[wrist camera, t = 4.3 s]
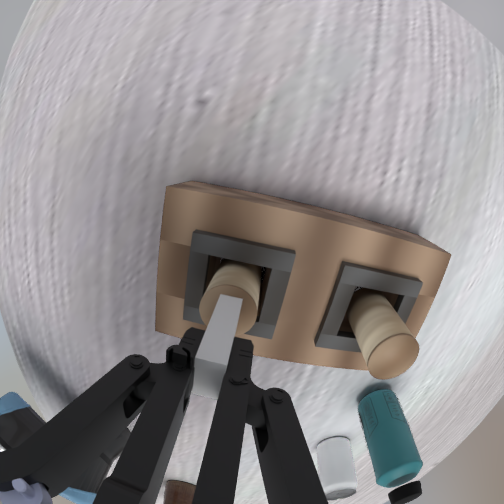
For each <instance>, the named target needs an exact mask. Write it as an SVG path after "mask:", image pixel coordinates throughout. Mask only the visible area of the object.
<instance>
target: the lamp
mask: <svg viewBox="0 0 504 504" xmlns="http://www.w3.org/2000/svg"><path fill="white" fill-rule="evenodd" d="M195 488H196V486H195V485H192V484H189V483H186V482H182V481H175V480H170V481H167V483H166V486H165V492H164V502H163V504H192V500H193V496H194V492H195Z"/></svg>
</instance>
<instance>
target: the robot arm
mask: <svg viewBox="0 0 504 504" xmlns="http://www.w3.org/2000/svg"><path fill="white" fill-rule="evenodd" d="M242 301H243V299H241V298H236V297H232V296H227V295H223V294H220V297H219V299H218V302H217V304H216V307H215V309H214V311H213V314H212V316H211V319H210V321H209V324H208V326H207V329H206V330H202V329H198V328H194V327H191V328H189V329H188V330H186V331H185V333H184V335H183V337H182V339H181V342H180V343H179V345H173V346H171V347H169V348H168V349H167V350H166V362H165V363H159V364H157V363H149V361H148V359H147V358H146V357H144V356H142V355H137V354H134V355H129V356H128V357H126V358H125V359H124V360H122V361H121V362H120V363H119V364H117V365H116V366H115V367H114V368H113V369H111V370H110V371H109V372H108V373H107V374H105V375H104V376H103V377H102V378H101V379H99V380H98V381H97V382H96V383H94V384H93V385H92V386H91V387H90V388H88V389H87V390H86V391H85V392H84V393H82V394H81V395H80V396H79V397H78V398H76V399H75V400H74V401H73V402H71V403H70V404H69V405H68V406H67V407H65V408H64V409H63V410H62V411H61V412H59V413H58V414H57V415H56V416H55V417H53V418H52V419H51V420H50V421H48V422H47V423H46V422H45V421H44V420H43V419H42V418H41V417H40V416H39V415H38V414H37V413H36V412H35V411H34V410H33V409H32V408H31V406H30V405H29V404H27V403H26V402H25V401H24V400H23V399H22V398H21V397H20V396H19V395H18V394H17V393H15V392H9V393H7V394H5V395H4V396H2V397H1V398H0V504H52V499H51V498H53V497H55V496H57V495H60V496H62V497H64V498H66V499H68V500H70V501H72V502H74V503H76V504H155V502H156V499H157V496H158V493H159V490H160V487H161V484H162V481H163V478H164V475H165V472H166V469H167V466H168V463H169V460H170V457H171V454H172V451H173V448H174V445H175V442H176V439H177V436H178V433H179V430H180V427H181V424H182V421H183V418H184V415H185V413H186V410H187V407H188V404H189V399H190V394H191V391H192V394H195V395H199V396H203V397H207V398H211V399H215V400H218V401H217V405H216V409H215V413H214V417H213V421H212V425H211V429H210V433H209V437H208V441H207V445H206V449H205V453H204V457H203V461H202V465H201V469H200V473H199V477H198V481H197V485H196V488H195V492H194V496H193V500H192V504H233V503H234V497H235V490H236V483H237V477H238V470H239V463H240V456H241V449H242V442H243V435H244V428H245V423H247V424H249V425H252V430H253V435H254V440H255V444H256V449H257V454H258V459H259V463H260V468H261V472H262V477H263V481H264V486H265V490H266V494H267V499H268V503H269V504H328V501H327V499H326V496H325V493H324V490H323V488H322V485H321V482H320V479H319V477H318V474H317V471H316V468H315V465H314V463H313V460H312V457H311V454H310V451H309V449H308V446H307V443H306V440H305V437H304V434H303V432H302V429H301V426H300V423H299V420H298V417H297V415H296V412H295V409H294V406H293V403H292V400H291V397H290V396H289V394H288V393H287V392H286V391H285V390H282V389H280V388H269V389H267V390H263V389H261V388H259V387H257V386H256V385H255V384H254V383H253V382H252V381H251V378H250V374H251V366H252V358H253V350H254V345H253V343H252V341H251V340H248V339H243V338H239V337H235V334H236V329H237V324H238V320H239V315H240V310H241V306H242ZM141 411H142V412H141ZM140 412H141V414H140V416H139V418H138V420H137V422H136V424H135V426H134V428H133V430H132V432H131V433H130V431H129V430H128V429H127V428H126V427H127V426H128V425H129V424H130V423H131V422H132V421H133V420H134V419H135V418H136V416H137V415H138V414H139V413H140ZM119 456H120V458H119V460H118V462H117V464H116V466H115V468H114V471H113V473H112V474H111V476H109V477H107V478H106V476H107V474H108V471H109V469H110V467H111V465H112V463H113V461H114V460H115V459H116V458H118V457H119Z"/></svg>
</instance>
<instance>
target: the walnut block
mask: <svg viewBox="0 0 504 504" xmlns="http://www.w3.org/2000/svg"><path fill="white" fill-rule="evenodd" d="M450 257H451V254H450V253H448V252H446V251H445V250H443V249H441V248H440V247H438V246H436V245H435V244H433V243H431V242H430V241H428V240H426V239H424V238H423V237H421V236H419V235H416V234H413V233H410V232H406V231H403V230H400V229H397V228H393V227H390V226H387V225H383V224H380V223H376V222H373V221H369V220H366V219H362V218H358V217H355V216H351V215H347V214H344V213H340V212H336V211H332V210H328V209H324V208H320V207H316V206H312V205H308V204H304V203H299V202H295V201H291V200H286V199H282V198H277V197H273V196H268V195H263V194H259V193H254V192H249V191H244V190H239V189H234V188H229V187H223V186H218V185H213V184H207V183H201V182H195V181H188V182H184V183H179V184H174V185H170V186H166V193H165V200H164V208H163V216H162V225H161V235H160V246H159V258H158V272H157V290H156V320H155V331H157V332H161V333H164V334H168V335H171V336H175V337H178V338H182V337H183V335H184V333H185V331H186V330H188V329H189V328H191V327H194V328H198V329H202V330H206V329H207V326H206V325H205V323H204V322H203V320H202V319H201V316H200V312H199V306H200V302H201V299H202V297H203V295H204V294H205V292H206V290H207V288H208V286H209V284H210V282H211V280H212V278H213V276H214V274H215V273H216V271H217V269H218V267H219V265H220V261H221V258H226V259H230V260H235V261H239V262H244V263H249V264H253V265H258V266H263V267H266V271H265V275H264V279H263V283H261V284H260V293H259V301H258V310H257V318H256V321H255V323H254V325H253V327H252V328H251V329H250V330H249V331H247V332H246V333H244V334H241V335H238V336H235V337H239V338H243V339H248V340H251V341H252V343H253V345H254V350H253V355H255V356H261V357H266V358H272V359H277V360H283V361H290V362H296V363H303V364H310V365H318V366H326V367H335V368H345V369H355V370H368V367H367V364H366V362H365V359H364V357H363V354H362V352H361V349H360V347H359V345H358V342H357V340H356V337H355V335H354V332H353V330H352V328H351V325H350V323H349V321H348V318H347V316H346V311H347V308H348V306H349V303H350V301H351V298H352V295H353V292H354V290H355V287H356V286H359V287H364V288H369V289H374V290H379V291H381V292H382V293H383V295H384V296H385V297H386V299H387V300H388V301H389V303H390V304H391V305H392V307H393V308H394V310H395V311H396V312H397V314H398V315H399V316H400V318H401V319H402V321H403V322H404V323H405V325H406V326H407V328H408V329H409V330H410V332H411V333H412V335H413V336H414V338H416V336H417V334H418V332H419V330H420V328H421V326H422V324H423V322H424V320H425V318H426V316H427V314H428V312H429V310H430V307H431V305H432V303H433V301H434V298H435V296H436V294H437V291H438V289H439V286H440V284H441V281H442V279H443V276H444V274H445V271H446V268H447V266H448V263H449V260H450ZM368 371H369V370H368Z"/></svg>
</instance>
